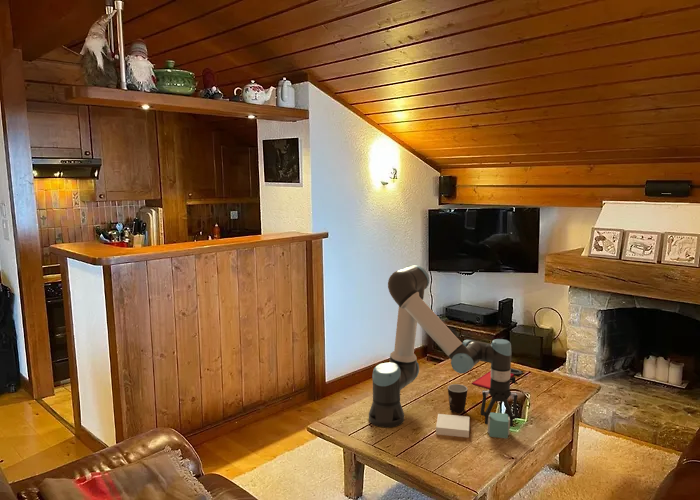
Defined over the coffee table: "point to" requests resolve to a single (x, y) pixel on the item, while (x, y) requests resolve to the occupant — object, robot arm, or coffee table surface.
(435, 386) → the coffee table surface
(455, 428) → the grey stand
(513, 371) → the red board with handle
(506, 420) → the teal cube
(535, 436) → the coffee table surface
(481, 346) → the robot arm
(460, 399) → the coffee mug
